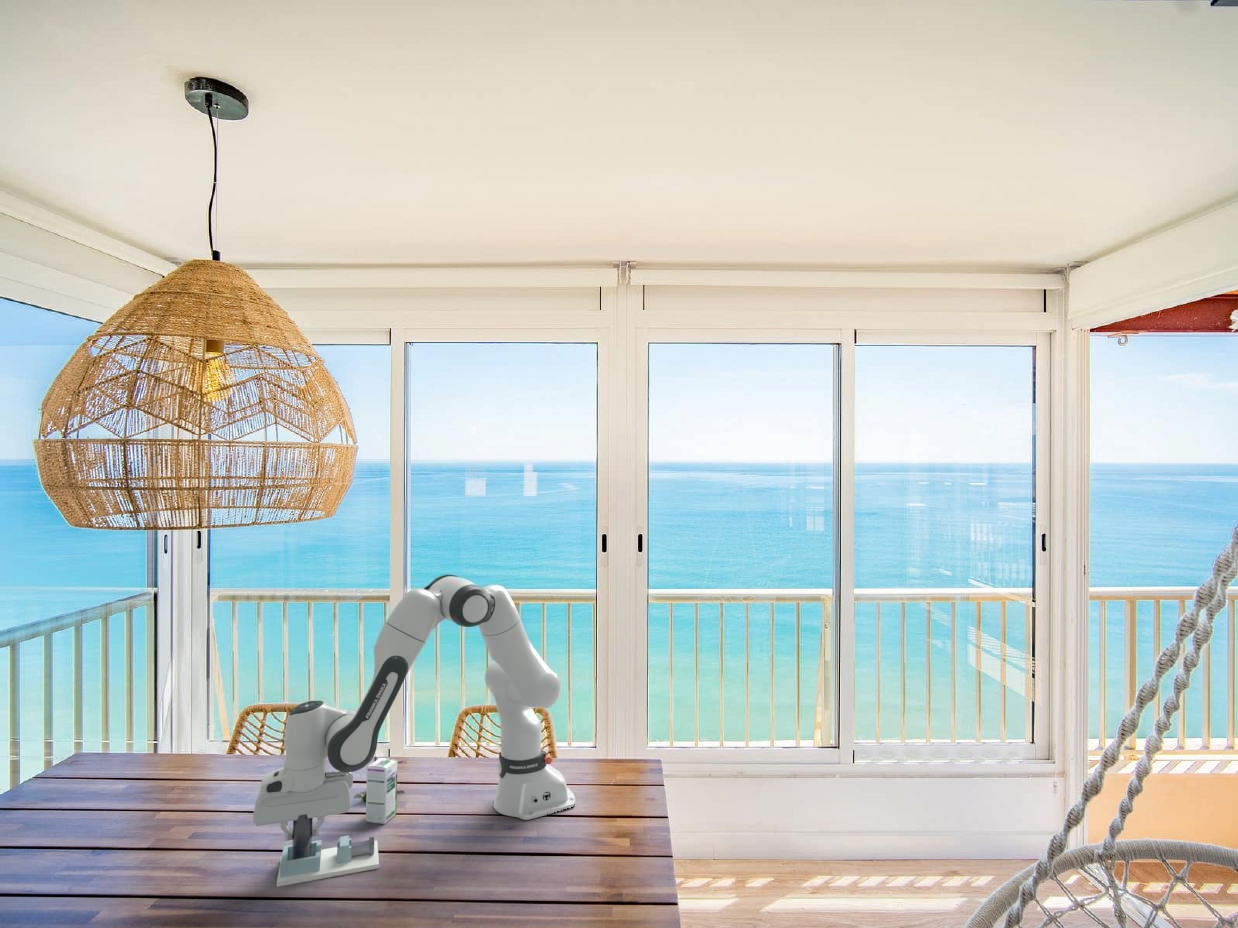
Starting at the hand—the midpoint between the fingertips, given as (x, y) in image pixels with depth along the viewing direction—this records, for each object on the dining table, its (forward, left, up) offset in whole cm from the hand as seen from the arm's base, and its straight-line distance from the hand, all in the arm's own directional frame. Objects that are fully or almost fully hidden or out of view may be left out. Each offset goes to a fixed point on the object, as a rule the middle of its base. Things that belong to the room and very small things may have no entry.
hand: (302, 837), depth 153 cm
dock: (-5, 0, -7) cm, 9 cm away
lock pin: (-11, 0, -6) cm, 13 cm away
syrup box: (-18, -19, -8) cm, 27 cm away
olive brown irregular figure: (-17, -31, -8) cm, 36 cm away
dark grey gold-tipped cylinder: (0, 0, -4) cm, 4 cm away
